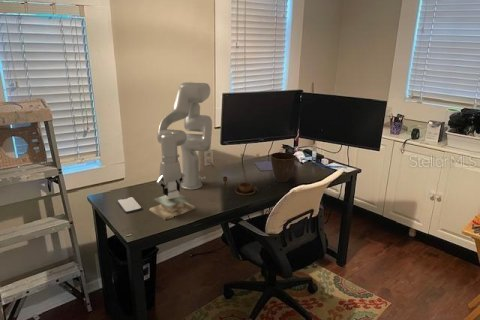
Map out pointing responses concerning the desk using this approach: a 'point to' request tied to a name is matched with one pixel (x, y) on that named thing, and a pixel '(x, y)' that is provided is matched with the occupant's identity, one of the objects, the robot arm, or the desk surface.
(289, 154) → the plant pot
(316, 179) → the desk surface
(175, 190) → the white wedge bracket
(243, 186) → the place setting
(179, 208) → the stand
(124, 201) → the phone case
